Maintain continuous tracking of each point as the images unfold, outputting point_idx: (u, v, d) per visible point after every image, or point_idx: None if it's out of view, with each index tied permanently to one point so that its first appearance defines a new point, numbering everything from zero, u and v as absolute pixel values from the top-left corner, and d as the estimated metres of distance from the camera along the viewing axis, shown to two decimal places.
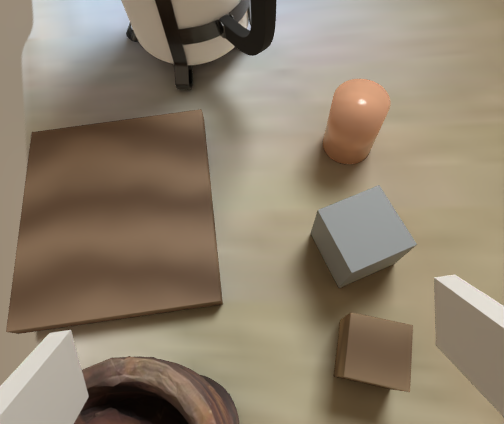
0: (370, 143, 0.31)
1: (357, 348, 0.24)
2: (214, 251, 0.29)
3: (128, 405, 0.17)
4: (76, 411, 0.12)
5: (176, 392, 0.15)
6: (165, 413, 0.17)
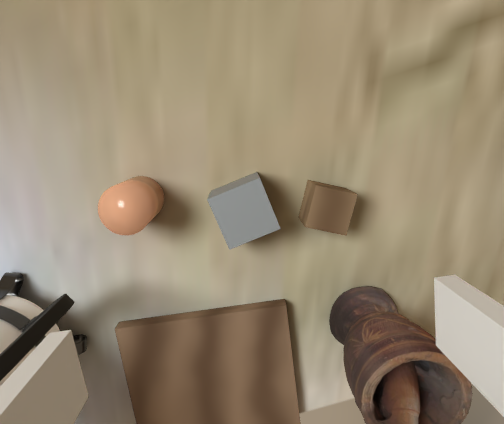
0: (153, 188, 0.34)
1: (329, 225, 0.34)
2: (249, 311, 0.38)
3: None
4: (76, 411, 0.12)
5: (380, 376, 0.28)
6: None
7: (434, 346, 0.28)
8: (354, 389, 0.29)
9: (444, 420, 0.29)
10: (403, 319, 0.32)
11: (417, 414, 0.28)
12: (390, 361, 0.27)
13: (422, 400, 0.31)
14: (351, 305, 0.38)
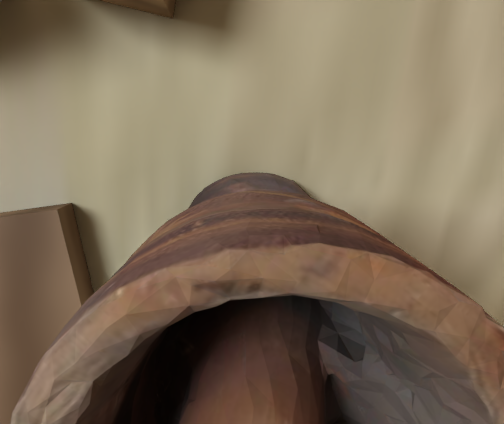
0: None
1: None
2: None
3: (168, 414, 0.08)
4: None
5: (80, 380, 0.05)
6: (186, 334, 0.09)
7: (364, 237, 0.06)
8: None
9: None
10: (292, 193, 0.10)
11: None
12: (115, 301, 0.05)
13: None
14: None
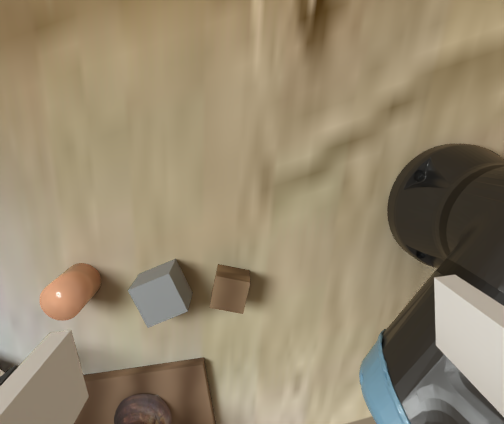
0: (88, 278, 0.43)
1: (229, 306, 0.43)
2: (172, 369, 0.47)
3: None
4: (76, 411, 0.12)
5: None
6: None
7: None
8: None
9: None
10: None
11: None
12: None
13: None
14: (123, 413, 0.46)
